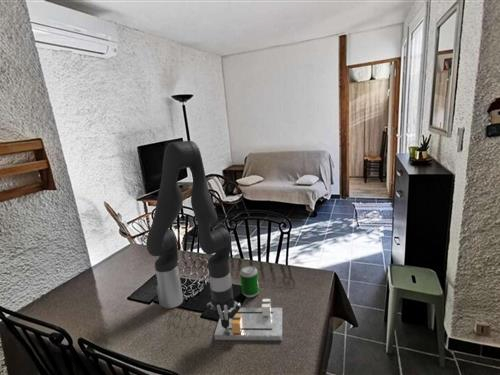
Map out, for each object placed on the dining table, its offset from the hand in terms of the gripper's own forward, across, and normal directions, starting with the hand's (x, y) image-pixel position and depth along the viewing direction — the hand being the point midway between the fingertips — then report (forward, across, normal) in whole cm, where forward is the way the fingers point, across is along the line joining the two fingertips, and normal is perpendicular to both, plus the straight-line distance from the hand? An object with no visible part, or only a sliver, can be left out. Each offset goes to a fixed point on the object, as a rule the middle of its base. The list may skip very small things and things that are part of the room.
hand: (226, 326), depth 107 cm
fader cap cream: (+1, +14, +9) cm, 17 cm away
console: (+3, +8, +5) cm, 10 cm away
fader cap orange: (+1, +4, 0) cm, 4 cm away
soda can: (+3, +6, +25) cm, 26 cm away
